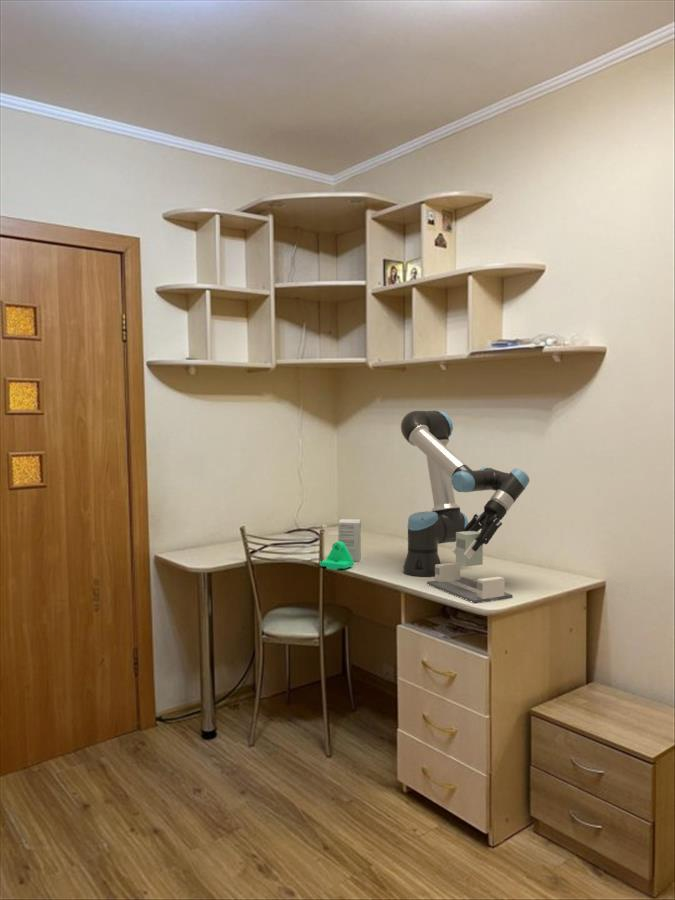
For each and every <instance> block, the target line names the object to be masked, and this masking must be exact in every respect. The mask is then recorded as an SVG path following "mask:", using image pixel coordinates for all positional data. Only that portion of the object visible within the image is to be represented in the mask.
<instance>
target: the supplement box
mask: <svg viewBox="0 0 675 900" xmlns="http://www.w3.org/2000/svg"><path fill="white" fill-rule="evenodd" d="M337 525H338V527H337V529H338V532H337V533H338V538H337V539H338V540H337V542H339V541H342V542H343V543H344V544H345V546H346V548H347V549H348V551H349V553H350V555H351V557H352V559H353V561H360V562H361V555H362V554H361V553H362V552H361V551H362V550H361V549H362V548H361V546H362V543H361V542H362V539H361V538H362V537H361V534H362V533H361V531H362V528H361V527H362V520H361V519H359V518H358V519H357V518H356V519H353V518H344V519H343V518H341V519H339V521H338V524H337ZM338 547H339V546H338Z"/></svg>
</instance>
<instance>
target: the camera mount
mask: <svg viewBox="0 0 675 900" xmlns="http://www.w3.org/2000/svg"><path fill="white" fill-rule="evenodd" d="M338 546H339V547H338ZM331 547H332V548H331V550H330V552H329V554H328V556H327V557H326V558H325V559H323V561H322V560H320V561H319V566H321V567H326V570H335V571H338V570H340V569H342V570H343V569H348V568H350V567H352V566H354V565H355V564H354V563H355V562H354V561H353V559H352V557H351V555H350V553H349V551H348V549H347V548H346V546H345V544H344V543H343V542H342V541H339V542H338V541H337V542H334V543H332V546H331ZM321 561H322V562H321Z"/></svg>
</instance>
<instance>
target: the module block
mask: <svg viewBox="0 0 675 900" xmlns="http://www.w3.org/2000/svg"><path fill="white" fill-rule="evenodd" d="M480 532H481V531H480ZM480 532H479V531H478V532H475V531H464V532H456V542H455V547H456V554H455V562H456V563H457V564H460V566H464V567H472V566H473V567H474V566H481V565H483V564H484V561H483V559H484V558H483V551H484V550H483V547H484V544H483V545H481V546H480V547H479V548H478V550H477V551H476V552H475V553H474V554H473V556H472V557H471V558H470V559H468V558H467V557H466V556H465V555H464V553H465V552H466V550H467V549H468V548H469V546H470V545H471V544H472V543H473V541H474V540H476V538H478V536H479V534H480ZM476 541H477V540H476Z"/></svg>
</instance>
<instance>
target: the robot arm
mask: <svg viewBox="0 0 675 900" xmlns="http://www.w3.org/2000/svg"><path fill="white" fill-rule="evenodd" d="M453 424H454V423H453V421H452V419H451V417H450V416H449V414H447V413H446V412H444V411H439V410H413V411H410V412H408V413H407V414H406V415H404V417H403V419H402V420H401V422H400V431H401V435H402V437H404V439H405V440H406V441H407V443H409V444H410V445H411V446H414V447H417V448H418V449H419V450H420V451H421V452H422V453H423V454H424V455H425V456H426V461H427V469H428V474H429V475H428V476H429V480H430V486H431V493H432V500H433V507H432V509H431V510H430V511H426V510H425V511H418V512H414V513H412V514H410V515H409V517H408V521H407V553H406V557H405V561H404V563H403V566H402V567H403V569H402V570H403V571H402V572H403V574H405V575H408V576H414V577H435V565H436V564H442V563H441V559H440V557H439V554H438V553H439V552H438V551H439V550H438V545H440V544H447V543H456V532H464V531H475V532H479V531H480V534H479V536H478V538H476V540H477V541H476V540H474V541H473V543H472V544H471V545H470V546H469V548H468V549H467V550H466V552H465V553H464V555H465V556H466V557H467V558H468V559H470V558H471V557H472V556H473V554H474V553H475V552H476V551H477V550H478V548H479V547H480V546H481V545H483V546H484V545H488V544H489V542H490V541H491V539H492V538H493V536H494V535H495V534H496V532H497V531H498V529H499V528H500V527H501V526H502V525H503V522H502V521H501V520H503V518H504V517H505V515H507V512H508V511H509V510H510V509H511V507H512V506H513V505H514V504H515V502H516V501H517V500H518V498H519V497H520V496H521V495H522V493H523V492H524V491H525V490H526V488H527V487H528V485H529V483H530V477H529V475H528V474H527V472H525V471H523V470H522V469H520V468H513V469H512V470H511V471H510V472H504V471H500V470H497V469H495V468H492V467H486V466H485V467H483V466H482V467H481V468H480V469H478V470H473V469H471V468H470V467H469V466H468V465H467V464H466V463H464V461H462V460H461V459H460V458H459V457H458V456H457V455H456V454H455V453H453V452H452V451H451V450H450V449H449V448H448V447H447V445H448V444H449V442H450V437H451V435H452V434H453V433H452V432H453V431H454V430H453V429H454V425H453ZM454 490H455V491H456V492H458V493H470V492H471V493H472V492H478V491H479V492H481V491H494V493H493V495H492V496H490V499H489V500H488V501H487V502H486V504H485V505H484V506H483V512H481V514H480V515H478V514H477V513H475V514H473V517H472V519H470V521H469V518H468V516H466V514H464V512H461V507H460V505H458V504H457V503H456V501H455V500H456V499H455V493H454ZM451 552H453V553H454V555H456V546H454V548H453V549H452V551H451Z"/></svg>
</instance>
